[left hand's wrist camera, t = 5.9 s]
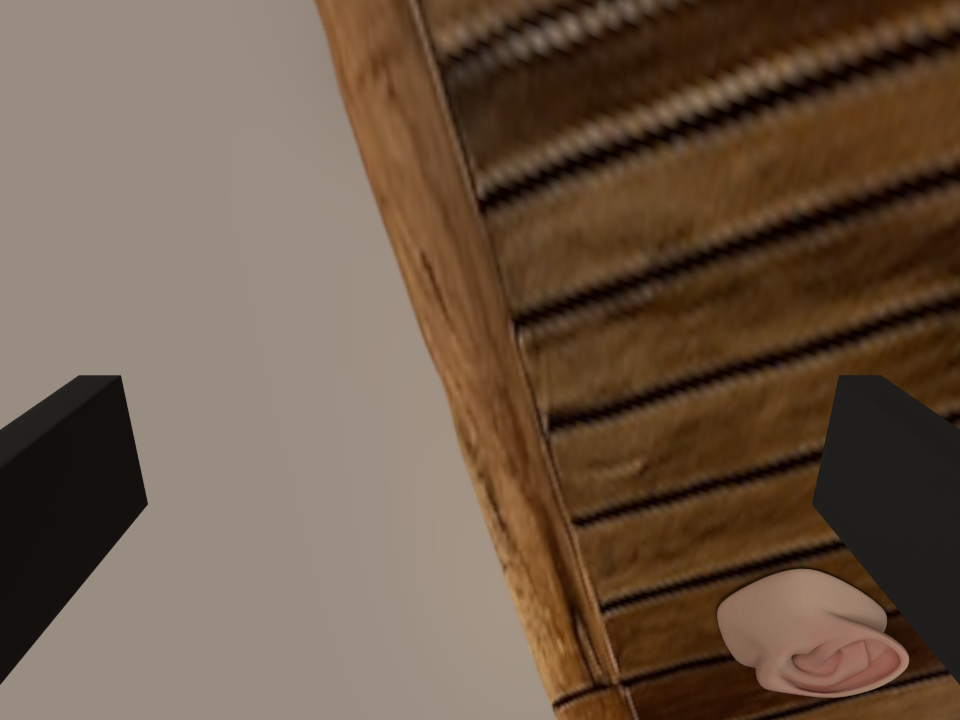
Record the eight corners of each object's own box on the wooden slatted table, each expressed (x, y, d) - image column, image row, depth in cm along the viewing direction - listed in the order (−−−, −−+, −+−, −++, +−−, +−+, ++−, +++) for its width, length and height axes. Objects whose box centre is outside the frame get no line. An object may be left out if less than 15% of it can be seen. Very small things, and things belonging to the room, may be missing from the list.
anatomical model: (706, 662, 52) (824, 570, 49) (691, 624, 56) (800, 537, 53) (815, 743, 55) (933, 662, 52) (794, 703, 59) (903, 625, 56)
